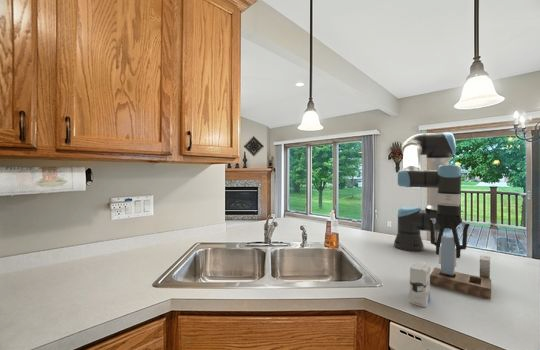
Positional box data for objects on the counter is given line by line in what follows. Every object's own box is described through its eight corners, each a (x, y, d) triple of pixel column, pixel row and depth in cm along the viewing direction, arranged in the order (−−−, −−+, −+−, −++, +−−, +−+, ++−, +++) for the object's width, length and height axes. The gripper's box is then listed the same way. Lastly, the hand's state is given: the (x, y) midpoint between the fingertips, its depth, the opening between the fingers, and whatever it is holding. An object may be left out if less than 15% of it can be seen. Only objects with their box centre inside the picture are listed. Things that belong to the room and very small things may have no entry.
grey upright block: (479, 284, 101) (479, 259, 101) (480, 279, 106) (480, 255, 106) (489, 287, 99) (490, 260, 99) (489, 281, 104) (490, 256, 104)
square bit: (440, 272, 102) (441, 236, 102) (442, 269, 105) (442, 234, 105) (453, 275, 99) (453, 238, 99) (454, 272, 102) (455, 236, 102)
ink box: (414, 293, 93) (414, 260, 93) (430, 298, 90) (430, 264, 90) (408, 303, 87) (409, 267, 86) (425, 308, 83) (426, 271, 83)
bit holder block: (429, 284, 101) (430, 275, 101) (434, 275, 110) (435, 267, 110) (490, 299, 90) (490, 289, 90) (491, 288, 98) (491, 279, 98)
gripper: (421, 203, 105) (420, 261, 105) (476, 207, 94) (474, 272, 94) (425, 202, 110) (424, 257, 111) (477, 205, 99) (476, 267, 99)
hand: (447, 264), depth 102 cm, fingers closed on square bit, 4 cm apart
